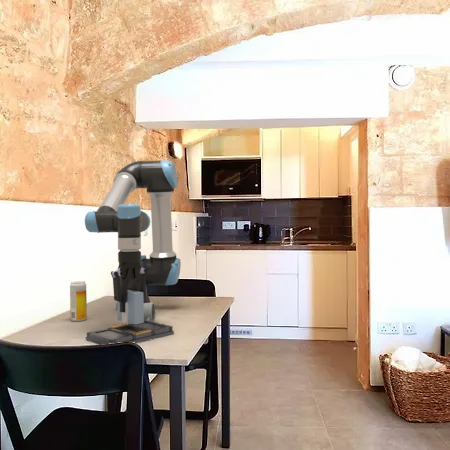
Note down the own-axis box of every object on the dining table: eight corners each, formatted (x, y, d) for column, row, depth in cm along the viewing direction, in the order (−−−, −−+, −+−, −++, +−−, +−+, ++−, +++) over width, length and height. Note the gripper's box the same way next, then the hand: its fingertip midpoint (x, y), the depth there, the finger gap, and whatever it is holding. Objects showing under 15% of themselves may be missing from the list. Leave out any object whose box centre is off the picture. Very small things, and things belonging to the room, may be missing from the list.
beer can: (89, 319, 183) (89, 281, 183) (80, 322, 178) (79, 283, 178) (77, 318, 185) (76, 280, 185) (67, 321, 180) (66, 282, 180)
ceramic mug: (134, 320, 179) (134, 301, 179) (155, 320, 179) (155, 300, 179) (128, 327, 169) (128, 306, 169) (151, 327, 169) (150, 306, 168)
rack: (85, 339, 151) (85, 331, 151) (145, 327, 168) (145, 319, 168) (113, 348, 140) (112, 339, 140) (173, 334, 157) (173, 325, 157)
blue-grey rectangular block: (117, 320, 156) (117, 290, 156) (126, 318, 159) (125, 289, 158) (134, 324, 149) (134, 293, 149) (143, 322, 152) (143, 292, 152)
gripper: (114, 252, 145) (115, 326, 145) (156, 249, 157) (157, 318, 157) (101, 251, 150) (102, 323, 150) (143, 248, 162) (144, 315, 162)
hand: (130, 320), depth 154 cm, fingers closed on blue-grey rectangular block, 3 cm apart
